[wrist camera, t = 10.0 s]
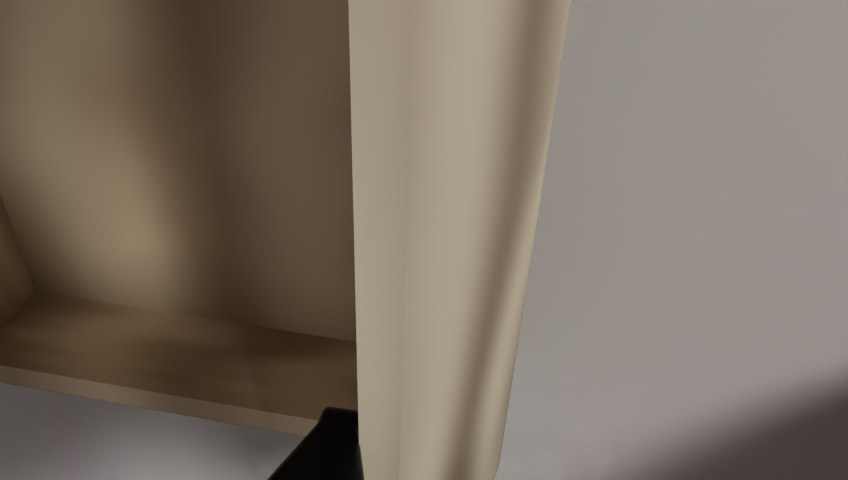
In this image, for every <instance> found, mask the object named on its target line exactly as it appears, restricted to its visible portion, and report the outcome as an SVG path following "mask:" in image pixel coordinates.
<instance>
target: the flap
mask: <svg viewBox="0 0 848 480" xmlns="http://www.w3.org/2000/svg"><path fill="white" fill-rule="evenodd" d="M348 5H349V48H350V90H351V132H352V174H353V216H354V258H355V301H356V343H357V385H358V427H359V445H360V448H361V456H362V464H363V473H364V480H494V478H495V475H496V472H497V469H498V466H499V462H500V456H501V449H502V443H503V436H504V430H505V423H506V417H507V410H508V404H509V398H510V391H511V385H512V378H513V372H514V365H515V359H516V352H517V346H518V340H519V333H520V327H521V320H522V314H523V307H524V301H525V294H526V288H527V282H528V275H529V269H530V262H531V256H532V249H533V243H534V237H535V230H536V224H537V217H538V211H539V204H540V198H541V191H542V185H543V179H544V172H545V166H546V159H547V153H548V146H549V140H550V133H551V127H552V121H553V114H554V108H555V101H556V95H557V88H558V82H559V76H560V69H561V63H562V56H563V50H564V43H565V37H566V30H567V24H568V18H569V11H570V5H571V0H348Z"/></svg>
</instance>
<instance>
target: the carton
mask: <svg viewBox="0 0 848 480" xmlns="http://www.w3.org/2000/svg"><path fill="white" fill-rule="evenodd" d="M0 382H1V383H7V384H12V385H18V386H24V387H29V388H35V389H40V390H46V391H52V392H57V393H63V394H69V395H74V396H80V397H85V398H91V399H97V400H102V401H108V402H114V403H119V404H125V405H131V406H136V407H142V408H147V409H153V410H159V411H164V412H170V413H176V414H181V415H187V416H193V417H198V418H204V419H209V420H215V421H221V422H226V423H232V424H238V425H243V426H249V427H254V428H260V429H266V430H271V431H277V432H283V433H288V434H294V435H300V436H305V437H306V436H307V434H308V433H309V432H310V431H311V430H312V429H313V428H314V427H315V425H316V424H317V423H318V420H319V418H320V415H321V413H322V411H323V410H324V408H326V407H329V406H331V407H338V408H344V409H351V410H358V385H357V343H356V301H355V258H354V216H353V174H352V132H351V90H350V48H349V5H348V0H0Z"/></svg>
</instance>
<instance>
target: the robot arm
mask: <svg viewBox="0 0 848 480" xmlns="http://www.w3.org/2000/svg"><path fill="white" fill-rule="evenodd" d="M268 480H364V473H363V464H362V456H361V448H360V445H359V427H358V410H351V409H344V408H338V407H331V406H329V407H326V408H324V410H323V411H322V413H321V415H320V418H319V420H318V423H317V424H316V425H315V427H314V428H313V429H312V430H311V431H310V432H309V433H308V434H307V436H306V437H305V438H304V439H303V440H302V441H301V442H300V443H299V445H298V446H297V447H296V448H295V449H294V450H293V451H292V453H291V454H290V455H289V456H288V457H287V458H286V459H285V460H284V462H283V463H282V464H281V465H280V466H279V467H278V468H277V469H276V471H275V472H274V473H273V474H272V475H271V476H270V477H269V478H268Z"/></svg>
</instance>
